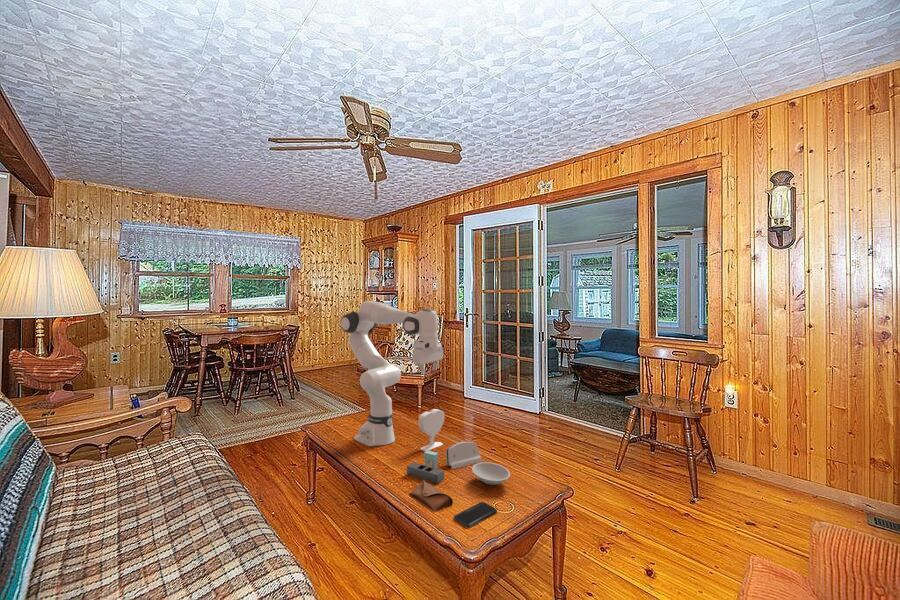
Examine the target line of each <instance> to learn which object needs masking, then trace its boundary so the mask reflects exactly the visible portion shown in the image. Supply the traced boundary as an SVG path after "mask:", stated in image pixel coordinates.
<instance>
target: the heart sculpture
mask: <svg viewBox="0 0 900 600" xmlns="http://www.w3.org/2000/svg"><path fill="white" fill-rule="evenodd" d="M445 416H446V414H445V411H444V410H440V409H437V408H432V409H431V410H430V411H427V410H426V411H423V412H422V413H421V414H420V415H419V416H418V422H417V423H418V427H419V429H420V431H422V433H424V434H427V435H428V436H429V444H428V445H425V446H422V447H420V450H421V451H424V452H426V451H431V450H433V449H435V448H438V447H440V446H442V445H444V443H443V442H440V441H435V437H436V436H437V435H438V433H439V432H440V431H441V429H442V427H443V426H444V425H443V424H444V422H445Z"/></svg>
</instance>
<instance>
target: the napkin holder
mask: <svg viewBox="0 0 900 600" xmlns="http://www.w3.org/2000/svg"><path fill="white" fill-rule="evenodd" d="M445 449H446V450H445V460H446V461H445V463H446V467H448V466H449V467H451V470H455V469H458V468H462V466H463V467H466V466H470V465H473V464H474V465H475V464H477V463H482V462H483V459H482V456H481V454H480V452H479V448H478V445H477V442H476V443H475V442H472V441H461V442H457V443H455V444H452V445H450V446H449V447H447V448H445Z"/></svg>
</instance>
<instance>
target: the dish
mask: <svg viewBox="0 0 900 600" xmlns="http://www.w3.org/2000/svg"><path fill="white" fill-rule="evenodd" d="M471 471H472V473H473V474H474V475H475V476H476V477H477V479H479V481H480V482H482V483H485V484H487V485H490V486H494V485H495V486H497V485H501V484H503V483H504V482H505V481H507V480H508V479H509V478H510V477H511V472H510V470H509V469H508V468H507V467H505V466H503V465H502V464H499V463H494V462H487V461H486V462H485V461H482V462H478V463H474V465H473V466H472V467H471Z"/></svg>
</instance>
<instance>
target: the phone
mask: <svg viewBox="0 0 900 600" xmlns="http://www.w3.org/2000/svg"><path fill="white" fill-rule="evenodd" d="M497 512H498V509H497V508H496V507H494V506H492V505H490V504H489V503H486V502H484V501H481V502H479V503H477V504H475V505H472V506H470V507H468V508H466V509H465V510H462V511H460V512H459V513H456V514H454V515H453V520H454V521H456V522H457V523H458V524H460V525H461V526H463V527H465V528H467V529H470V528H472V527H474V526H475V525H478V524H480V523H481V522H483V521H485V520H487V519H488V518H490V517H492V516H494V515H496V514H497Z"/></svg>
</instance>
